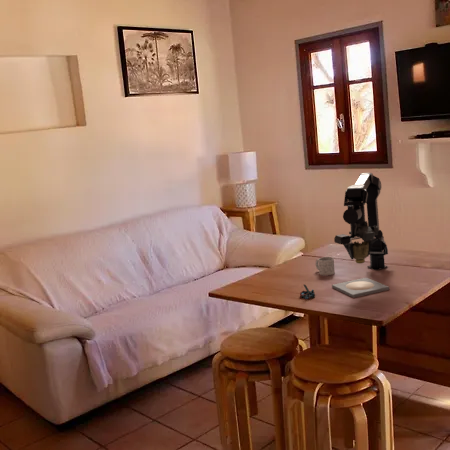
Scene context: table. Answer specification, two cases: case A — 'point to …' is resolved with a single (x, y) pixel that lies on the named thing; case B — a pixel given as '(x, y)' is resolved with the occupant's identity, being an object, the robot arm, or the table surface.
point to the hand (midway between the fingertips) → (359, 257)
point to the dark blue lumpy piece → (307, 294)
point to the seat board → (360, 287)
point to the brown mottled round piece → (360, 251)
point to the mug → (325, 266)
